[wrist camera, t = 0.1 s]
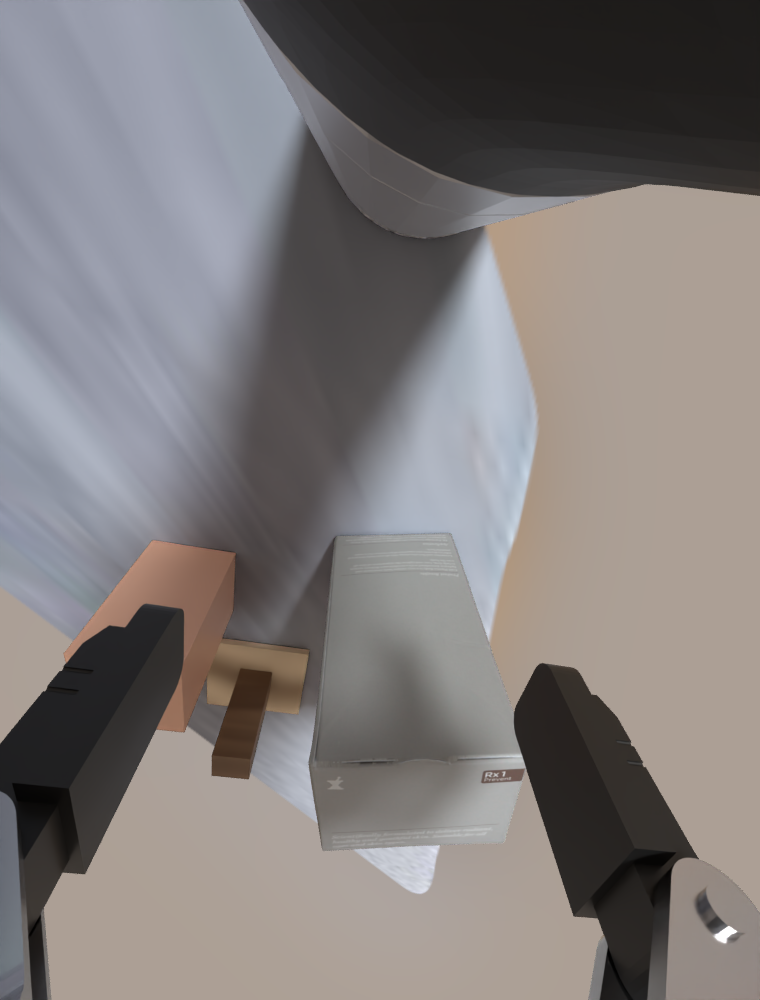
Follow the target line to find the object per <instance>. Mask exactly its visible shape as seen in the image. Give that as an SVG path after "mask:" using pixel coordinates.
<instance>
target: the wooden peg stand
mask: <svg viewBox="0 0 760 1000" xmlns="http://www.w3.org/2000/svg"><path fill="white" fill-rule="evenodd" d="M308 656H309V650H307V649H300V648H292V647H285V646H277V645H270V644H262V643H254V642H247V641H239V640H232V639H224V638H222V640H221V643H220V645H219V648H218V650H217V653H216V655H215V658H214V660H213V662H212V665H211V667H210V670H209V672H208V675H207V704H214V705H222V706H228V708H227V711H226V714H225V717H224V720H223V723H222V726H221V729H220V732H219V735H218V738H217V741H216V744H215V747H214V750H213V754H212V776H221V777H231V778H241V779H249V776H250V772H251V768H252V764H253V760H254V756H255V752H256V748H257V744H258V739H259V735H260V731H261V727H262V723H263V719H264V715H265V711H274V712H282V713H291V714H298V713H299V707H300V702H301V696H302V690H303V684H304V679H305V673H306V667H307V661H308Z"/></svg>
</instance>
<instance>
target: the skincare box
mask: <svg viewBox="0 0 760 1000" xmlns="http://www.w3.org/2000/svg"><path fill="white" fill-rule="evenodd" d="M309 770H310V777H311V784H312V790H313V797H314V803H315V809H316V815H317V820H318V826H319V832H320V839H321V846H322V850H323V851H332V850H349V849H368V848H387V847H403V846H424V845H453V844H454V845H455V844H488V843H489V844H491V843H504V842H505V838H506V835H507V831H508V827H509V824H510V820H511V817H512V814H513V811H514V808H515V804H516V801H517V798H518V794H519V791H520V788H521V784H522V780H523V777H524V774H525V771H526V766H525V763H524V760H523V757H522V754H521V751H520V748H519V745H518V741H517V738H516V735H515V730H514V712H513V709H512V707H511V704H510V701H509V698H508V695H507V693H506V690H505V687H504V684H503V681H502V679H501V676H500V673H499V670H498V667H497V664H496V662H495V659H494V656H493V654H492V650H491V647H490V644H489V641H488V638H487V635H486V632H485V630H484V627H483V624H482V621H481V618H480V615H479V612H478V610H477V607H476V604H475V601H474V598H473V595H472V592H471V589H470V586H469V583H468V580H467V577H466V574H465V572H464V568H463V565H462V563H461V560H460V557H459V554H458V551H457V548H456V546H455V543H454V540H453V537H452V534H450V533H437V534H400V535H358V536H336V538H335V540H334V548H333V557H332V566H331V576H330V587H329V596H328V605H327V615H326V626H325V636H324V645H323V654H322V664H321V673H320V683H319V693H318V702H317V710H316V718H315V727H314V734H313V741H312V747H311V752H310V757H309Z"/></svg>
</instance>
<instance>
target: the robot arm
mask: <svg viewBox="0 0 760 1000" xmlns="http://www.w3.org/2000/svg"><path fill="white" fill-rule="evenodd" d="M239 2H240V4H241V6H242V7H243V9H244V11H245V13H246V15H247V17H248V18H249V20H250V22H251V24H252V26H253V27H254V29H255V31H256V33H257V35H258V37H259V38H260V40H261V42H262V44H263V46H264V47H265V49H266V51H267V53H268V55H269V57H270V58H271V60H272V62H273V64H274V66H275V68H276V69H277V71H278V73H279V75H280V77H281V78H282V80H283V81H284V83H285V84H286V86H287V88H288V90H289V92H290V94H291V95H292V97H293V99H294V101H295V103H296V105H297V107H298V108H299V110H300V112H301V114H302V116H303V118H304V120H305V121H306V123H307V125H308V127H309V129H310V131H311V133H312V134H313V136H314V138H315V140H316V142H317V144H318V146H319V147H320V149H321V151H322V153H323V155H324V157H325V159H326V161H327V163H328V164H329V166H330V168H331V170H332V172H333V174H334V175H335V177H336V179H337V180H338V182H339V184H340V185H341V187H342V188H343V190H344V192H345V193H346V195H347V196H348V198H349V200H350V201H351V202H352V203H353V204H354V205H355V206H356V207H357V208H358V209H359V211H360V212H361V213H363V214H364V215H365V216H366V217H367V218H368V219H370V220H371V221H373V222H374V223H376V224H377V225H379V226H380V227H382V228H383V229H385V230H388V231H391V232H393V233H396V234H399V235H401V236H405V237H412V238H423V239H431V238H441V237H445V236H450V235H454V234H457V233H459V232H462V231H466V230H470V229H473V228H477V227H481V226H485V225H488V224H492V223H496V222H500V221H503V220H507V219H510V218H515V217H518V216H522V215H526V214H529V213H533V212H537V211H541V210H544V209H548V208H552V207H555V206H559V205H563V204H567V203H571V202H574V201H577V200H580V199H584V198H588V197H592V196H595V195H599V194H603V193H607V192H610V191H616V190H621V189H627V188H632V187H636V186H640V185H644V184H652V185H669V186H680V187H688V188H697V189H705V190H714V191H723V192H731V193H740V194H749V195H757V196H760V0H239ZM183 661H184V611H183V609H180V608H174V607H167V606H160V605H153V604H147V603H146V604H143V605H142V606H141V607H140V608H139V609H138V610H137V612H136V613H135V615H134V616H133V617H132V619H131V620H130V621H129V623H128V624H127V625H126V627H119V626H111V625H109V626H107V627H106V628H104V629H103V630H101V631H100V632H98V633H97V634H95V635H94V636H92V637H91V638H89V639H88V640H86V641H85V642H83V643H82V644H81V646H80V647H79V648H78V649H77V651H76V652H75V653H74V654H73V655H72V657H71V658H70V659H69V660H68V662H67V663H66V664H65V665H64V668H63V670H62V671H59V673H58V674H57V675H56V676H55V677H54V679H53V680H52V681H51V682H50V684H49V685H48V687H47V690H46V691H45V692H44V691H43V692H42V693H41V695H40V696H39V697H38V698H37V700H36V701H35V702H34V703H33V704H32V706H31V707H30V708H29V709H28V710H27V712H26V713H25V714H24V716H23V717H22V718H21V719H20V720H19V722H18V723H17V724H16V725H15V726H14V728H13V729H12V730H11V731H10V733H9V734H8V735H7V736H6V738H5V739H4V740H3V741H2V742H1V744H0V1000H51V990H50V977H49V966H48V954H47V942H46V930H45V918H44V906H45V904H46V903H47V901H48V899H49V897H50V895H51V893H52V891H53V889H54V888H55V886H56V884H57V882H58V880H59V878H60V876H61V874H62V872H64V873H77V874H85V873H86V871H87V869H88V867H89V865H90V863H91V861H92V859H93V857H94V855H95V853H96V851H97V849H98V847H99V845H100V843H101V841H102V838H103V836H104V834H105V832H106V830H107V828H108V826H109V824H110V822H111V820H112V818H113V816H114V814H115V812H116V810H117V808H118V806H119V804H120V802H121V800H122V798H123V796H124V794H125V792H126V790H127V788H128V786H129V784H130V782H131V779H132V777H133V775H134V773H135V771H136V769H137V767H138V765H139V763H140V761H141V759H142V757H143V755H144V753H145V751H146V749H147V747H148V744H149V743H150V741H151V739H152V736H153V735H154V732H155V731H156V729H157V727H158V724H159V722H160V720H161V718H162V716H163V714H164V712H165V710H166V708H167V706H168V704H169V702H170V700H171V698H172V696H173V694H174V692H175V690H176V687H177V685H178V682H179V679H180V676H181V672H182V668H183ZM514 730H515V735H516V738H517V741H518V745H519V748H520V751H521V754H522V757H523V760H524V763H525V766H526V769H527V773H528V776H529V779H530V782H531V785H532V788H533V791H534V794H535V798H536V801H537V804H538V807H539V810H540V813H541V816H542V819H543V822H544V826H545V828H546V832H547V835H548V838H549V841H550V844H551V847H552V850H553V853H554V857H555V859H556V863H557V866H558V869H559V872H560V875H561V878H562V882H563V885H564V888H565V891H566V894H567V897H568V900H569V903H570V907H571V909H572V913H573V916H575V917H588V918H598V920H599V923H600V925H601V928H602V931H603V934H604V935H603V936H602V937H601V939H600V940H599V943H598V947H597V952H596V958H595V964H594V970H593V975H592V981H591V988H590V994H589V999H588V1000H760V913H759V911H758V910H757V908H756V907H755V905H754V904H753V903H752V901H751V900H750V899H749V898H748V897H747V895H746V894H745V893H744V892H743V891H742V890H741V889H740V888H739V887H738V886H737V885H736V884H735V883H734V882H733V881H732V880H731V879H730V878H729V877H728V876H726V875H725V874H724V873H722V872H721V871H720V870H718V869H717V868H715V867H713V866H712V865H710V864H708V863H706V862H704V861H701V860H699V858H698V857H697V855H696V854H695V852H694V851H693V849H692V847H691V846H690V844H689V842H688V840H687V838H686V837H685V835H684V833H683V831H682V830H681V828H680V826H679V824H678V823H677V821H676V819H675V817H674V816H673V814H672V812H671V810H670V809H669V807H668V805H667V804H666V802H665V800H664V798H663V796H662V795H661V793H660V792H659V790H658V788H657V786H656V784H655V783H654V781H653V779H652V777H651V775H650V774H649V772H648V770H647V769H646V767H643V765H642V763H643V762H642V760H641V758H640V756H639V755H638V753H637V751H636V749H635V748H634V747H633V746H631V741H630V739H629V737H628V735H627V734H626V732H625V730H624V728H623V727H622V725H621V723H620V721H619V720H618V718H617V717H616V716H615V714H614V713H613V712H612V711H611V710H610V709H609V708H608V707H607V706H606V705H605V704H604V703H603V701H602V700H601V699H600V698H599V697H598V696H597V695H591V693H590V691H589V689H588V687H587V686H586V684H585V682H584V680H583V678H582V676H581V675H580V673H579V672H578V671H577V670H576V669H574V668H571V667H565V666H558V665H551V664H544V663H542V664H539V665H538V666H537V667H536V669H535V670H534V672H533V674H532V676H531V678H530V680H529V682H528V684H527V686H526V688H525V690H524V692H523V694H522V695H521V697H520V699H519V701H518V703H517V705H516V708H515V712H514Z"/></svg>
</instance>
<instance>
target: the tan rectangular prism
mask: <svg viewBox="0 0 760 1000" xmlns="http://www.w3.org/2000/svg"><path fill="white" fill-rule="evenodd" d="M235 557H236V553H233V552H226V551H220V550H213V549H207V548H200V547H194V546H187V545H181V544H174V543H168V542H161V541H155V540H152V541H151V543H150V544H149V545H148V546H147V548H146V549H145V550H144V552H143V553H142V554H141V555H140V557H139V558H138V559H137V560H136V562H135V563H134V564H133V566H132V567H131V568H130V569H129V571H128V572H127V573H126V575H125V576H124V577H123V578H122V580H121V581H120V582H119V583H118V585H117V586H116V587H115V589H114V590H113V591H112V592H111V594H110V595H109V596H108V598H107V599H106V600H105V601H104V603H103V604H102V605H101V606H100V608H99V609H98V610H97V612H96V613H95V614H94V615H93V617H92V618H91V619H90V621H89V622H88V623H87V624H86V626H85V627H84V628H83V629H82V631H81V632H80V633H79V635H78V636H77V637H76V638H75V640H74V641H73V642H72V643H71V645H70V646H69V648H68V649H67V650H66V651H65V652H64V657H65V661H66V663H67V662H68V660H69V659H70V658H71V657H72V655H73V654H74V653H75V652H76V651H77V649H78V648H79V647H80V646H81V644H82V643H83V642H85V641H86V640H88V639H89V638H91V637H92V636H94V635H95V634H97V633H98V632H100V631H101V630H103V629H104V628H106V627H107V626H109V625H111V626H119V627H126V625H127V624H128V623H129V621H130V620H131V619H132V617H133V616H134V615H135V613H136V612H137V610H138V609H139V608H140V607H141V606H142V605H143V604H146V603H147V604H153V605H160V606H167V607H174V608H180V609H183V611H184V661H183V668H182V672H181V676H180V679H179V682H178V685H177V687H176V690H175V692H174V694H173V696H172V698H171V700H170V702H169V704H168V706H167V708H166V710H165V712H164V714H163V716H162V718H161V720H160V722H159V724H158V727H157V729H158V730H167V731H175V732H185V730H186V727H187V725H188V722H189V720H190V717H191V715H192V712H193V710H194V707H195V705H196V702H197V700H198V697H199V695H200V692H201V690H202V687H203V685H204V682H205V680H206V677H207V675H208V672H209V670H210V667H211V665H212V662H213V660H214V658H215V655H216V653H217V650H218V648H219V645H220V643H221V640H222V638H223V635H224V633H225V630H226V628H227V625H228V623H229V620H230V618H231V615H232V613H233V607H234V582H235Z"/></svg>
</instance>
